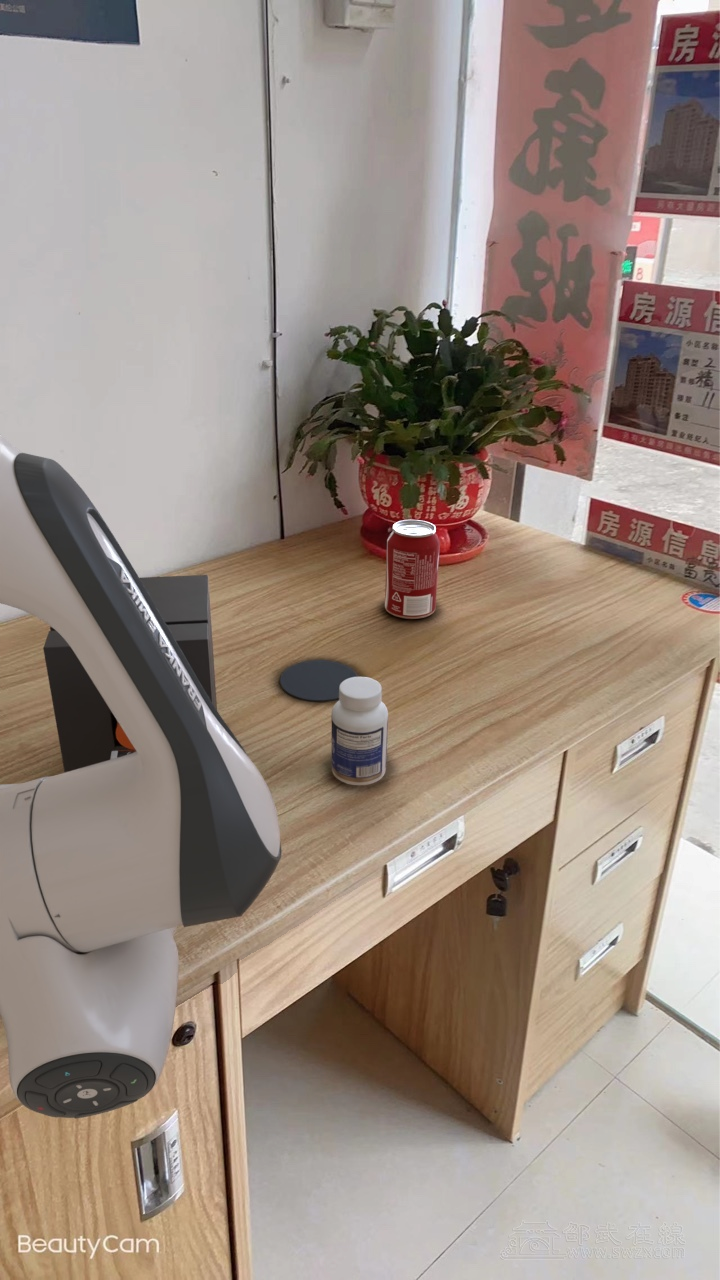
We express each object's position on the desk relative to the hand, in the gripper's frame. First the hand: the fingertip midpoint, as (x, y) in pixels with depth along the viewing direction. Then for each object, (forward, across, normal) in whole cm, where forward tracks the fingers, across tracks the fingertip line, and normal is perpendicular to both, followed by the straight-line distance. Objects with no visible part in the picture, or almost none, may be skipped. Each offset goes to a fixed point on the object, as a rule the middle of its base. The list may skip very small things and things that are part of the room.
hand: (131, 756), depth 71 cm
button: (+5, 0, +2) cm, 5 cm away
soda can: (+43, -32, +10) cm, 55 cm away
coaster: (+26, -18, +10) cm, 33 cm away
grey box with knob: (+11, 0, +10) cm, 15 cm away
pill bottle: (+9, -20, +10) cm, 24 cm away
